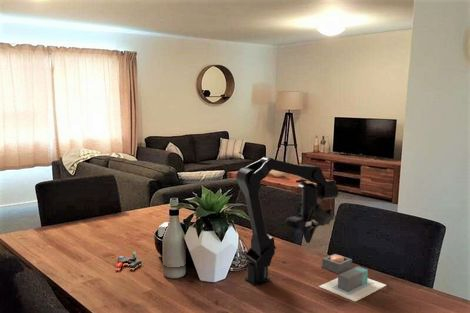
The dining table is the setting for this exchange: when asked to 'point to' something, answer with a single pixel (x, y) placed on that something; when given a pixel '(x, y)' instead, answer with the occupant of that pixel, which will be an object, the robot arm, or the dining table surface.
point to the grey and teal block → (352, 279)
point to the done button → (337, 258)
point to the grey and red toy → (128, 261)
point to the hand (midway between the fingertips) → (308, 242)
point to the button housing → (337, 265)
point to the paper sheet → (355, 293)
